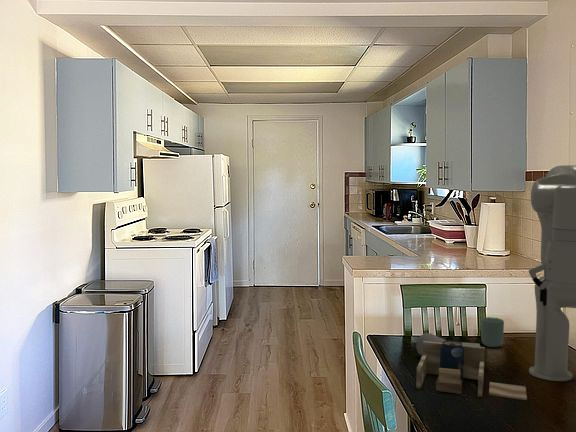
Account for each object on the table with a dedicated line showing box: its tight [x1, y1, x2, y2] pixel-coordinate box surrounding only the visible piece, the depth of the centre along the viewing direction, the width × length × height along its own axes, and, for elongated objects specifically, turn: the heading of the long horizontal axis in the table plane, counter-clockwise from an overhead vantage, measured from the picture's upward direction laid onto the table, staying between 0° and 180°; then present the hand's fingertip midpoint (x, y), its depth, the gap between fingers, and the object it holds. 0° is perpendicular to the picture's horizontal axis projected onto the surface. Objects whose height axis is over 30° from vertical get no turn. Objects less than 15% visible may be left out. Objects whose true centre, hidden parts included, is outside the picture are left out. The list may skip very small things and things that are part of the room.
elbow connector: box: [415, 332, 481, 357], centre depth 195 cm, size 18×11×20 cm
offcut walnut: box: [435, 376, 463, 395], centre depth 170 cm, size 4×7×3 cm, turn 70°
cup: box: [480, 316, 505, 348], centre depth 217 cm, size 8×8×10 cm
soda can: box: [440, 339, 464, 381], centre depth 177 cm, size 7×7×12 cm
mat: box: [488, 381, 528, 401], centre depth 169 cm, size 10×10×1 cm
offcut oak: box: [438, 368, 461, 384], centre depth 170 cm, size 4×6×3 cm, turn 75°
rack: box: [415, 341, 486, 398], centre depth 175 cm, size 16×18×10 cm
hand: (565, 306), depth 142 cm, fingers open, 9 cm apart
